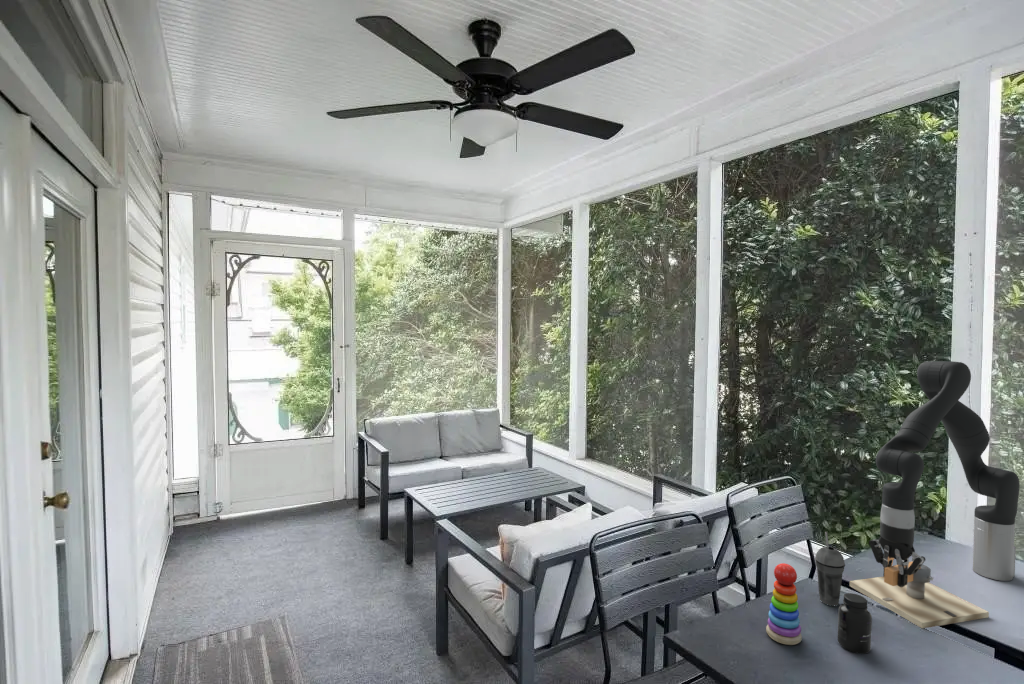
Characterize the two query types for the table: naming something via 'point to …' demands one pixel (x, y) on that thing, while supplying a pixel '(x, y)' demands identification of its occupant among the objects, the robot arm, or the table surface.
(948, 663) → the table surface
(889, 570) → the orange lever handle
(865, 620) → the supplement bottle
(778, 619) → the stacking toy
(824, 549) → the beverage cup
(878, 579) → the post board
